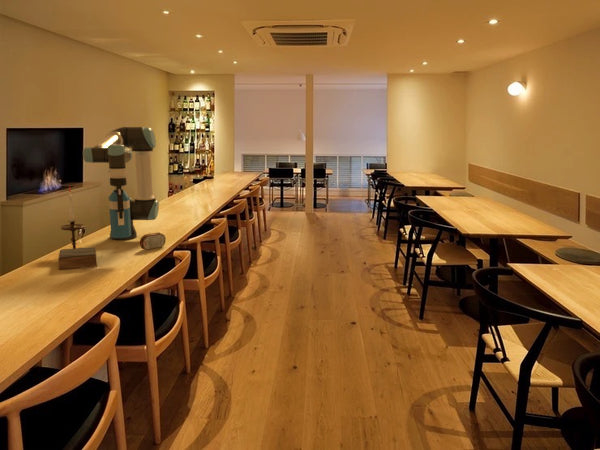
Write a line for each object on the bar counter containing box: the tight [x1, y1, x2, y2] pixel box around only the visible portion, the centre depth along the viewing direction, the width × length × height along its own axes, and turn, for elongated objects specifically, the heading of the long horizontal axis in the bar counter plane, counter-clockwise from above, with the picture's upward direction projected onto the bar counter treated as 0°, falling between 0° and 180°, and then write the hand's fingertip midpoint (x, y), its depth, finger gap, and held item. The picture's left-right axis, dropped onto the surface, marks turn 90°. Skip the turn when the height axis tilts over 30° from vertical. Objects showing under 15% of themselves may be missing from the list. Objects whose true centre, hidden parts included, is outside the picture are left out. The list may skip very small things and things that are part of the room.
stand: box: [57, 246, 98, 271], centre depth 233 cm, size 16×16×6 cm
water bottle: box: [108, 186, 131, 238], centre depth 237 cm, size 9×9×25 cm
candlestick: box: [60, 186, 85, 249], centre depth 250 cm, size 11×11×35 cm
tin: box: [139, 232, 166, 251], centre depth 265 cm, size 15×3×8 cm, turn 141°
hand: (120, 222), depth 238 cm, fingers closed on water bottle, 9 cm apart
